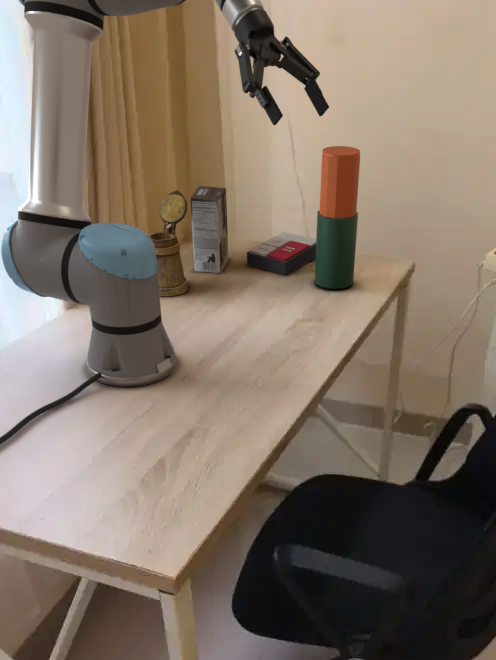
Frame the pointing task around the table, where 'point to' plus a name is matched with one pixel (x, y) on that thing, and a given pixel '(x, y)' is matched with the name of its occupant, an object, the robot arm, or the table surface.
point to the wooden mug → (170, 246)
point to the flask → (335, 252)
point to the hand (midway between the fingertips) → (302, 116)
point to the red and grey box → (282, 253)
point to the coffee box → (209, 229)
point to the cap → (339, 181)
